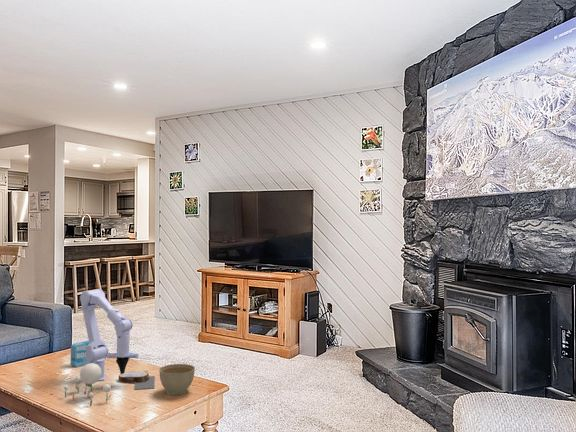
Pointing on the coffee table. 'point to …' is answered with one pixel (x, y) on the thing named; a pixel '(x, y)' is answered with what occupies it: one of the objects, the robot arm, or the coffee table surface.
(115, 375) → the coffee table surface
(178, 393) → the planter bowl
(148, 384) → the mat
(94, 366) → the figurines
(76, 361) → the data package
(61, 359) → the coffee table surface
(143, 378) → the tin
